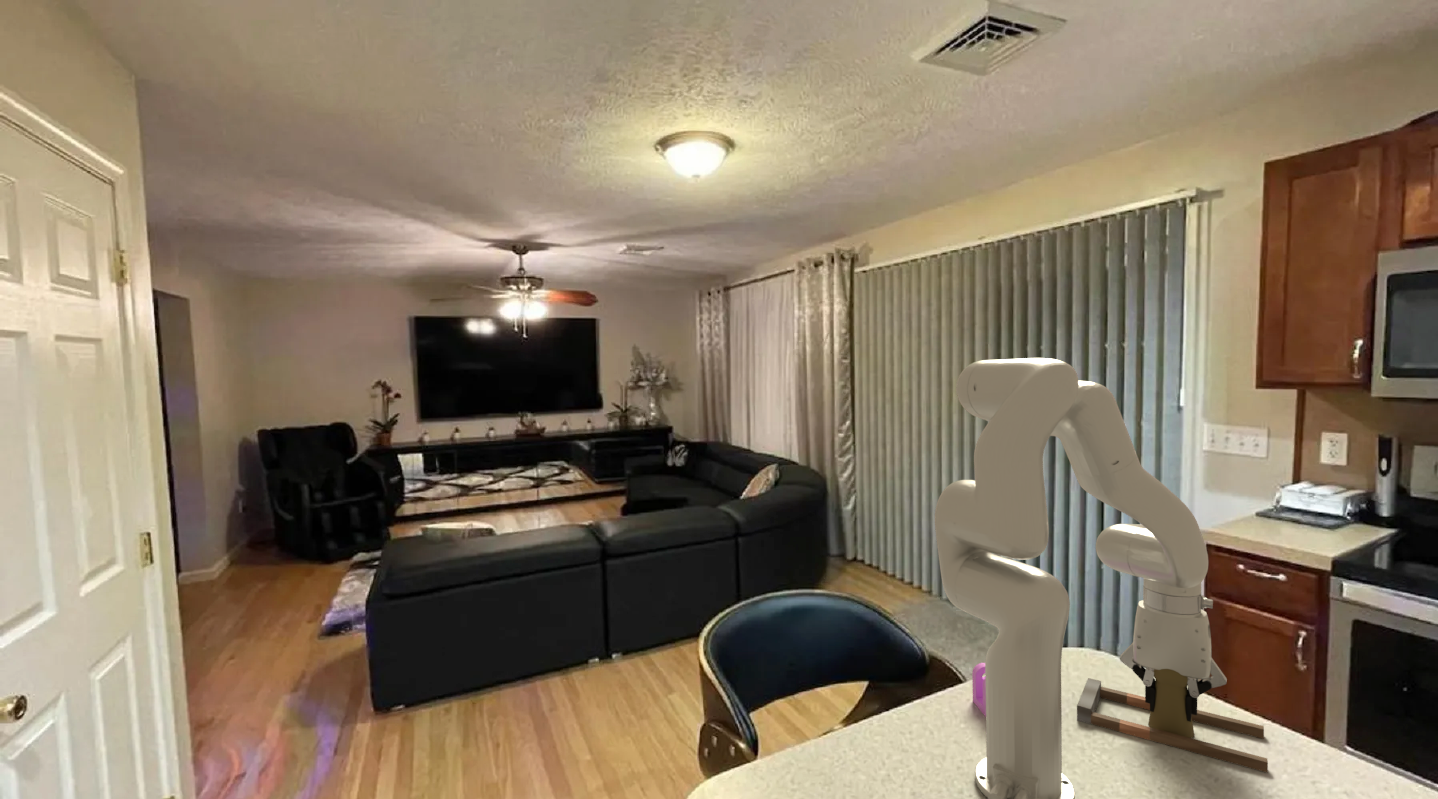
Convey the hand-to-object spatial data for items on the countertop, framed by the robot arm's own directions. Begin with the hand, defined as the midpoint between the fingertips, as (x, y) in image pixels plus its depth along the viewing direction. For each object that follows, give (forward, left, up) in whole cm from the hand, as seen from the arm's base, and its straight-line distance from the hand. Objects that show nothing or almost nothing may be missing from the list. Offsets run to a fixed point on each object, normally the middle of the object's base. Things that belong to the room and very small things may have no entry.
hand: (1170, 711), depth 103 cm
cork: (0, 0, -3) cm, 3 cm away
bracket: (-7, +21, -3) cm, 23 cm away
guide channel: (0, 0, -3) cm, 3 cm away
